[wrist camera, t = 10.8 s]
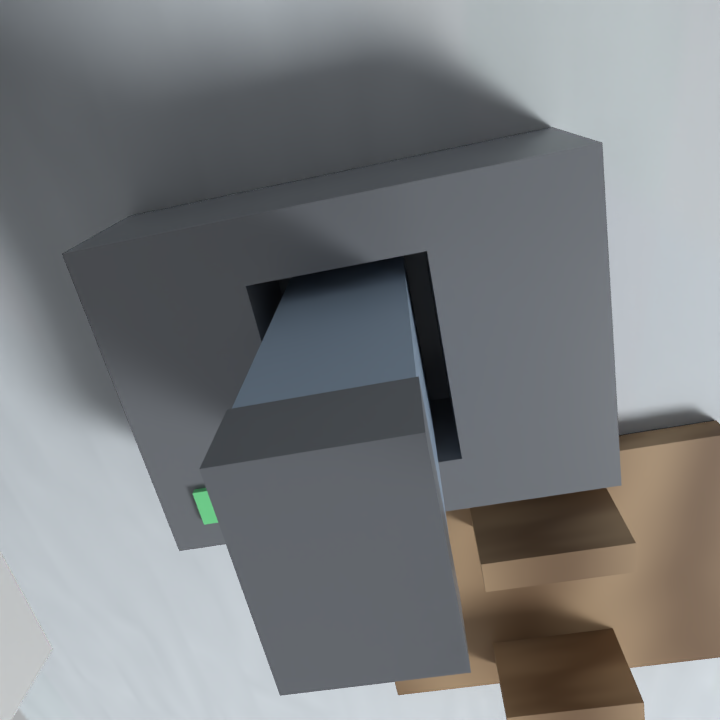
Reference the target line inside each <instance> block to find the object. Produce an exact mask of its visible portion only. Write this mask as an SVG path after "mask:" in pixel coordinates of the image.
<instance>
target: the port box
mask: <svg viewBox="0 0 720 720" xmlns="http://www.w3.org/2000/svg"><path fill="white" fill-rule="evenodd" d="M62 255H63V258H64V260H65V263H66V265H67V268H68V270H69V273H70V275H71V278H72V280H73V283H74V285H75V288H76V290H77V293H78V295H79V298H80V301H81V303H82V306H83V308H84V311H85V313H86V316H87V318H88V321H89V323H90V326H91V328H92V331H93V333H94V336H95V339H96V341H97V344H98V346H99V349H100V351H101V354H102V356H103V359H104V361H105V364H106V366H107V369H108V371H109V374H110V377H111V379H112V382H113V384H114V387H115V389H116V392H117V394H118V397H119V399H120V402H121V404H122V407H123V409H124V412H125V414H126V417H127V420H128V422H129V425H130V427H131V430H132V432H133V435H134V437H135V440H136V442H137V445H138V447H139V450H140V452H141V455H142V458H143V460H144V463H145V465H146V468H147V470H148V473H149V475H150V478H151V480H152V483H153V485H154V488H155V490H156V493H157V496H158V498H159V501H160V503H161V506H162V508H163V511H164V513H165V516H166V518H167V521H168V523H169V526H170V528H171V531H172V533H173V536H174V539H175V541H176V544H177V546H178V549H179V551H182V550H189V549H196V548H203V547H209V546H216V545H223V544H226V543H225V540H224V537H223V534H222V531H221V529H220V526H219V523H218V520H217V517H216V515H215V512H214V509H213V506H212V503H211V501H210V498H209V495H208V492H207V489H206V487H205V484H204V481H203V478H202V475H201V473H200V470H199V469H200V466H201V464H202V462H203V460H204V458H205V456H206V454H207V451H208V449H209V447H210V445H211V443H212V441H213V439H214V436H215V434H216V432H217V430H218V428H219V426H220V423H221V421H222V419H223V417H224V415H225V413H226V411H227V409H232V407H233V404H234V402H235V400H236V398H237V396H238V393H239V391H240V389H241V387H242V385H243V382H244V380H245V378H246V376H247V374H248V371H249V369H250V367H251V365H252V363H253V360H254V358H255V356H256V354H257V351H258V349H259V347H260V345H261V343H262V340H263V338H264V336H265V334H266V332H267V329H268V327H269V325H270V323H271V321H272V318H273V316H274V314H275V312H276V310H277V307H278V305H279V303H280V301H281V299H282V296H283V294H284V292H285V290H286V288H287V285H288V283H289V281H290V279H291V277H295V276H301V275H306V274H311V273H316V272H321V271H326V270H332V269H337V268H342V267H347V266H352V265H357V264H363V263H368V262H373V261H378V260H383V259H388V258H394V257H399V256H404V260H405V266H406V271H407V277H408V282H409V288H410V293H411V299H412V304H413V309H414V315H415V320H416V326H417V331H418V337H419V342H420V348H421V353H422V359H423V364H424V369H425V375H426V380H427V386H428V393H429V400H430V407H431V414H432V421H433V428H434V436H435V443H436V450H437V457H438V464H439V471H440V478H441V485H442V492H443V499H444V506H445V512H446V511H452V510H459V509H466V508H473V507H479V506H486V505H493V504H500V503H506V502H513V501H520V500H527V499H533V498H540V497H547V496H554V495H560V494H567V493H574V492H581V491H588V490H594V489H601V488H608V487H615V486H621V485H622V484H621V466H620V449H619V431H618V413H617V396H616V378H615V360H614V343H613V325H612V307H611V290H610V272H609V254H608V237H607V219H606V201H605V184H604V166H603V148H602V142H598V141H595V140H592V139H589V138H585V137H582V136H579V135H576V134H573V133H569V132H566V131H563V130H560V129H557V128H553V127H551V128H547V129H542V130H537V131H532V132H528V133H523V134H518V135H513V136H509V137H504V138H499V139H494V140H490V141H485V142H480V143H475V144H471V145H466V146H461V147H456V148H451V149H447V150H442V151H437V152H432V153H428V154H423V155H418V156H413V157H409V158H404V159H399V160H394V161H390V162H385V163H380V164H375V165H371V166H366V167H361V168H356V169H351V170H347V171H342V172H337V173H332V174H328V175H323V176H318V177H313V178H309V179H304V180H299V181H294V182H290V183H285V184H280V185H275V186H271V187H266V188H261V189H256V190H251V191H247V192H242V193H237V194H232V195H228V196H223V197H218V198H213V199H209V200H204V201H199V202H194V203H190V204H185V205H180V206H175V207H171V208H166V209H161V210H156V211H151V212H147V213H142V214H137V215H132V216H129V217H127V218H125V219H123V220H122V221H120V222H118V223H116V224H114V225H113V226H111V227H109V228H107V229H106V230H104V231H102V232H100V233H98V234H97V235H95V236H93V237H91V238H89V239H88V240H86V241H84V242H82V243H80V244H79V245H77V246H75V247H73V248H72V249H70V250H68V251H66V252H64V253H63V254H62Z"/></svg>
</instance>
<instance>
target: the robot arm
mask: <svg viewBox="0 0 720 720" xmlns="http://www.w3.org/2000/svg"><path fill="white" fill-rule="evenodd" d="M52 650H53V648H52V646H51V644H50V642H49V641H48V639H47V637H46V635H45V633H44V631H43V630H42V628H41V626H40V624H39V622H38V620H37V618H36V617H35V615H34V613H33V611H32V609H31V607H30V605H29V604H28V602H27V600H26V598H25V596H24V594H23V592H22V591H21V589H20V587H19V585H18V583H17V581H16V579H15V578H14V576H13V574H12V572H11V570H10V568H9V566H8V565H7V563H6V561H5V559H4V557H3V555H2V553H1V552H0V720H12V719H13V717H14V715H15V714H16V712H17V710H18V708H19V707H20V705H21V703H22V702H23V700H24V698H25V697H26V695H27V693H28V691H29V690H30V688H31V686H32V685H33V683H34V681H35V679H36V678H37V676H38V674H39V673H40V671H41V669H42V667H43V666H44V664H45V662H46V661H47V659H48V657H49V655H50V654H51V652H52Z"/></svg>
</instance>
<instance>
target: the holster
mask: <svg viewBox="0 0 720 720" xmlns="http://www.w3.org/2000/svg"><path fill="white" fill-rule="evenodd" d="M619 449H620V466H621V484H622V485H621V486H615V487H608V488H601V489H594V490H588V491H581V492H574V493H567V494H560V495H554V496H547V497H540V498H533V499H527V500H520V501H513V502H506V503H500V504H493V505H486V506H479V507H473V508H466V509H459V510H452V511H446V512H445V513H446V520H447V527H448V534H449V540H450V545H451V550H452V556H453V561H454V566H455V572H456V577H457V582H458V588H459V593H460V600H461V607H462V614H463V620H464V627H465V634H466V641H467V647H468V654H469V661H470V668H471V673H464V674H455V675H447V676H439V677H430V678H422V679H414V680H405V681H397V682H395V685H396V689H397V692H398V695H404V694H412V693H421V692H429V691H438V690H446V689H455V688H463V687H472V686H480V685H489V684H497V683H500V687H501V692H502V698H503V703H504V708H505V713H506V719H507V720H645V717H644V702H643V700H642V697H641V695H640V692H639V690H638V687H637V685H636V683H635V680H634V678H633V675H632V673H631V671H630V668H633V667H642V666H650V665H659V664H667V663H676V662H684V661H693V660H701V659H710V658H718V657H720V424H719V423H718V422H717V421H709V422H703V423H696V424H690V425H684V426H677V427H671V428H664V429H658V430H652V431H645V432H639V433H633V434H626V435H620V436H619Z"/></svg>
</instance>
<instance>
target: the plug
mask: <svg viewBox="0 0 720 720" xmlns="http://www.w3.org/2000/svg"><path fill="white" fill-rule="evenodd" d="M199 470H200V473H201V475H202V478H203V481H204V484H205V487H206V489H207V492H208V495H209V498H210V501H211V503H212V506H213V509H214V512H215V515H216V517H217V520H218V523H219V526H220V529H221V531H222V534H223V537H224V540H225V543H226V545H227V548H228V551H229V554H230V557H231V559H232V562H233V565H234V568H235V571H236V573H237V576H238V579H239V582H240V585H241V587H242V590H243V593H244V596H245V599H246V601H247V604H248V607H249V610H250V613H251V615H252V618H253V621H254V624H255V627H256V629H257V632H258V635H259V638H260V641H261V643H262V646H263V649H264V652H265V655H266V657H267V660H268V663H269V666H270V669H271V671H272V674H273V677H274V680H275V683H276V685H277V688H278V691H279V694H280V695H288V694H297V693H305V692H313V691H322V690H330V689H338V688H347V687H355V686H364V685H372V684H380V683H389V682H397V681H405V680H414V679H422V678H430V677H439V676H447V675H455V674H464V673H471V668H470V661H469V654H468V647H467V641H466V634H465V627H464V620H463V614H462V607H461V600H460V593H459V588H458V582H457V577H456V572H455V566H454V561H453V556H452V550H451V545H450V540H449V534H448V527H447V520H446V513H445V506H444V499H443V492H442V485H441V478H440V471H439V464H438V457H437V450H436V443H435V436H434V428H433V421H432V414H431V407H430V400H429V393H428V386H427V380H426V375H425V369H424V364H423V359H422V353H421V348H420V342H419V337H418V331H417V326H416V320H415V315H414V309H413V304H412V299H411V293H410V288H409V282H408V277H407V271H406V266H405V260H404V256H399V257H394V258H388V259H383V260H378V261H373V262H368V263H363V264H357V265H352V266H347V267H342V268H337V269H332V270H326V271H321V272H316V273H311V274H306V275H301V276H295V277H291V279H290V281H289V283H288V285H287V288H286V290H285V292H284V294H283V296H282V299H281V301H280V303H279V305H278V307H277V310H276V312H275V314H274V316H273V318H272V321H271V323H270V325H269V327H268V329H267V332H266V334H265V336H264V338H263V340H262V343H261V345H260V347H259V349H258V351H257V354H256V356H255V358H254V360H253V363H252V365H251V367H250V369H249V371H248V374H247V376H246V378H245V380H244V382H243V385H242V387H241V389H240V391H239V393H238V396H237V398H236V400H235V402H234V404H233V407H232V409H227V411H226V413H225V415H224V417H223V419H222V421H221V423H220V426H219V428H218V430H217V432H216V434H215V436H214V439H213V441H212V443H211V445H210V447H209V449H208V451H207V454H206V456H205V458H204V460H203V462H202V464H201V466H200V469H199Z"/></svg>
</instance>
